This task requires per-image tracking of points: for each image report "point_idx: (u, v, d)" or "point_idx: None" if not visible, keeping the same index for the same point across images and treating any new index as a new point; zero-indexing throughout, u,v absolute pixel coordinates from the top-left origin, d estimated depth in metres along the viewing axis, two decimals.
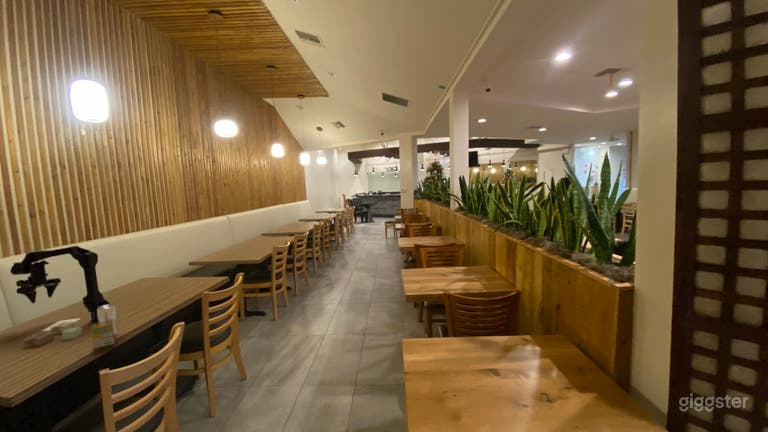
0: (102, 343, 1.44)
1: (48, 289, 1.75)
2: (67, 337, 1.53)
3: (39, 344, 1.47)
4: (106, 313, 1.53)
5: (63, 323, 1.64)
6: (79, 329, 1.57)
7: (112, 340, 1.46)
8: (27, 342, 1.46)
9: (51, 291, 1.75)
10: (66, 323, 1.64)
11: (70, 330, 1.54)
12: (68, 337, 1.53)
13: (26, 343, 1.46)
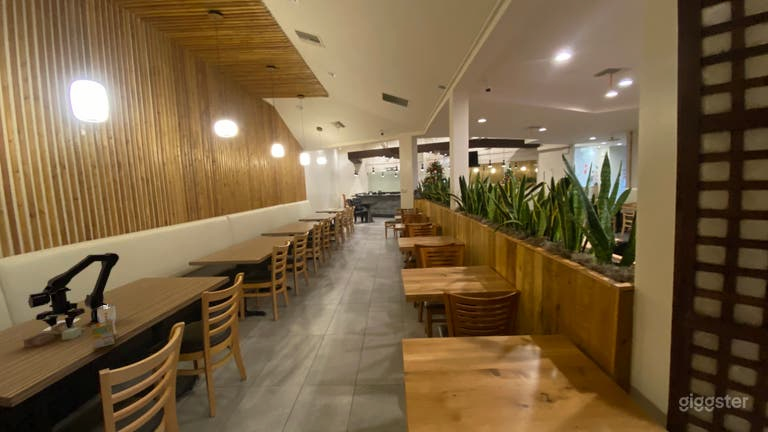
0: (102, 343, 1.44)
1: None
2: (67, 337, 1.53)
3: (38, 344, 1.47)
4: (106, 313, 1.53)
5: (63, 323, 1.64)
6: (79, 329, 1.57)
7: (112, 340, 1.46)
8: (27, 342, 1.46)
9: None
10: None
11: (70, 330, 1.54)
12: (68, 337, 1.53)
13: (26, 343, 1.46)
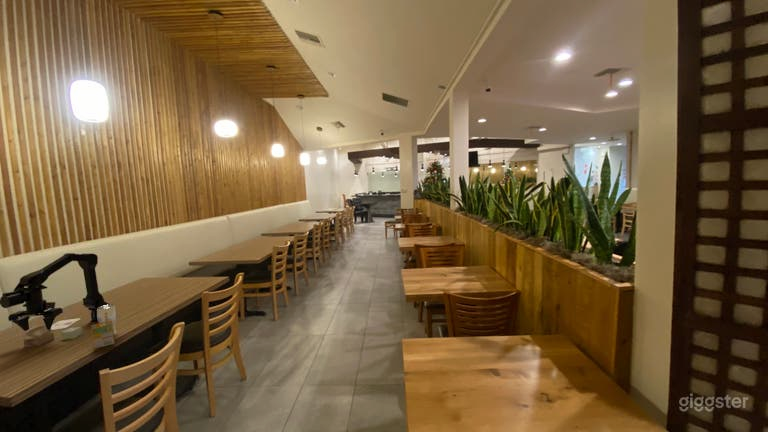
0: (102, 343, 1.44)
1: None
2: (67, 337, 1.53)
3: (37, 345, 1.46)
4: (106, 313, 1.53)
5: (39, 327, 1.51)
6: (79, 329, 1.57)
7: (112, 340, 1.46)
8: (26, 342, 1.46)
9: None
10: (42, 326, 1.51)
11: (70, 330, 1.54)
12: (68, 337, 1.53)
13: (26, 343, 1.46)
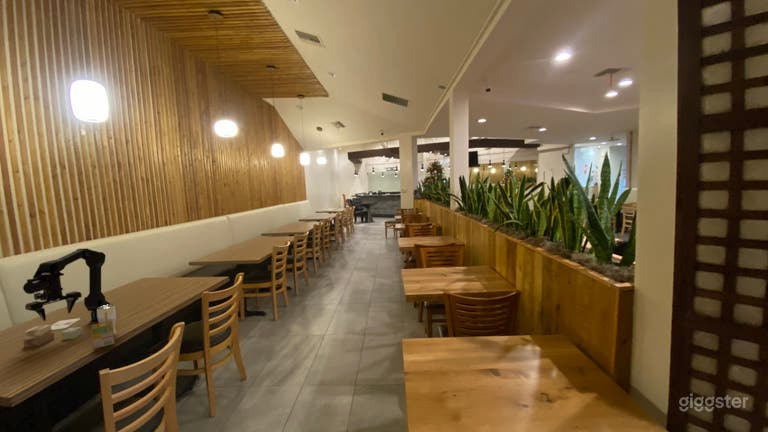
0: (102, 343, 1.44)
1: (68, 304, 1.57)
2: (67, 337, 1.53)
3: (37, 345, 1.46)
4: (106, 313, 1.53)
5: (39, 327, 1.51)
6: (79, 329, 1.57)
7: (112, 340, 1.46)
8: (26, 342, 1.46)
9: (69, 306, 1.56)
10: (43, 326, 1.51)
11: (70, 330, 1.54)
12: (68, 337, 1.53)
13: (25, 343, 1.46)
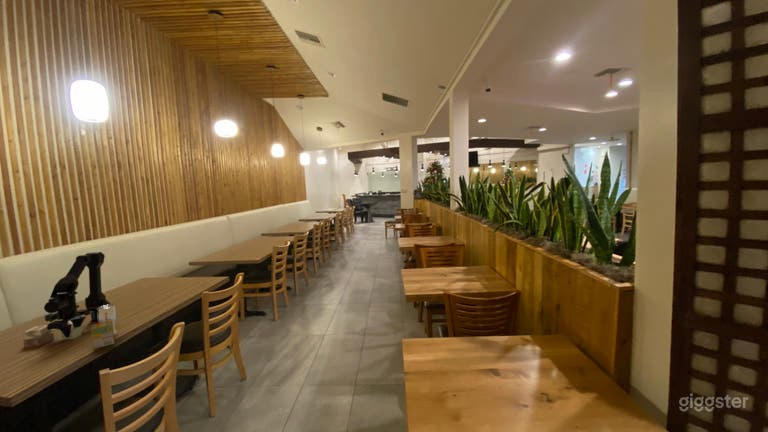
0: (102, 343, 1.44)
1: (74, 323, 1.58)
2: None
3: (37, 345, 1.46)
4: (106, 313, 1.53)
5: (39, 327, 1.50)
6: (79, 329, 1.57)
7: (112, 340, 1.46)
8: (26, 342, 1.46)
9: (78, 325, 1.58)
10: (43, 326, 1.51)
11: None
12: (68, 337, 1.53)
13: (25, 343, 1.46)
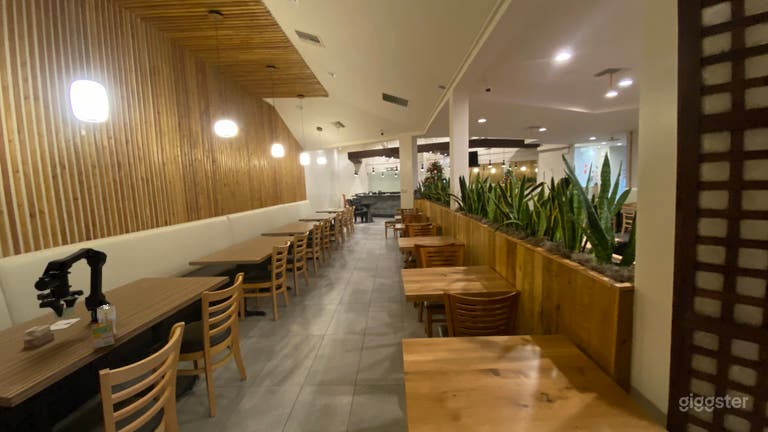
0: (102, 343, 1.44)
1: (67, 304, 1.56)
2: None
3: (37, 345, 1.46)
4: (106, 313, 1.53)
5: (38, 327, 1.50)
6: (72, 309, 1.55)
7: (112, 340, 1.46)
8: (26, 342, 1.46)
9: (71, 306, 1.56)
10: (42, 327, 1.50)
11: (63, 310, 1.53)
12: None
13: (25, 343, 1.46)
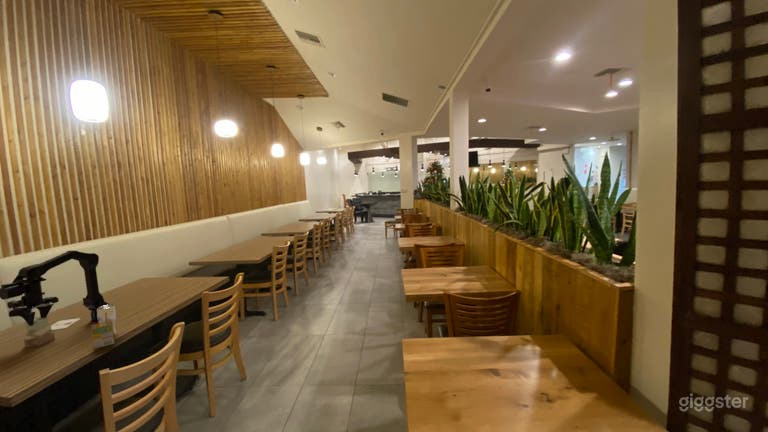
0: (102, 343, 1.44)
1: (41, 311, 1.52)
2: (32, 328, 1.47)
3: (37, 345, 1.46)
4: (106, 313, 1.53)
5: None
6: (45, 320, 1.51)
7: (112, 340, 1.46)
8: (27, 342, 1.46)
9: (45, 313, 1.52)
10: None
11: (35, 320, 1.48)
12: (33, 328, 1.47)
13: (26, 343, 1.46)
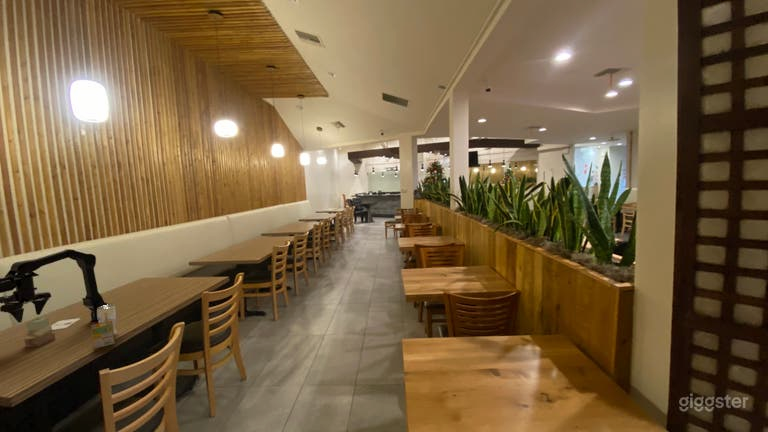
0: (102, 343, 1.44)
1: (36, 305, 1.53)
2: (32, 328, 1.47)
3: (37, 344, 1.46)
4: (106, 313, 1.53)
5: None
6: (46, 320, 1.51)
7: (112, 340, 1.46)
8: (27, 341, 1.46)
9: (40, 307, 1.53)
10: None
11: (36, 320, 1.48)
12: (33, 327, 1.47)
13: (26, 343, 1.47)
